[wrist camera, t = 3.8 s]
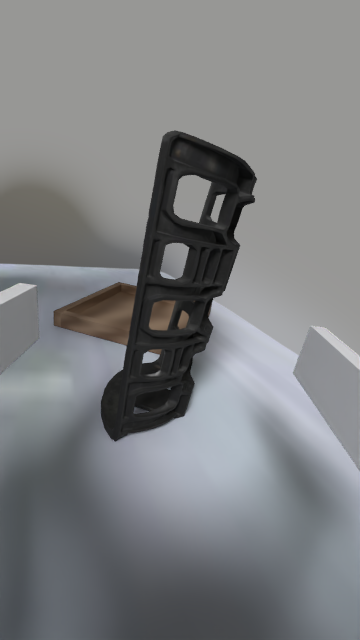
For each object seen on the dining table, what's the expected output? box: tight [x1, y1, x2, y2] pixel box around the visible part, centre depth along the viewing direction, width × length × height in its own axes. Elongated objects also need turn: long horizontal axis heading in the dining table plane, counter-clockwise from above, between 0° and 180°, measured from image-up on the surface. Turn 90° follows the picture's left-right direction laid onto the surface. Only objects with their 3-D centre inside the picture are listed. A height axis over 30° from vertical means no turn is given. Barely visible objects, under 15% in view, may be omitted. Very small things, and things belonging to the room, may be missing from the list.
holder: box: [101, 131, 257, 441], centre depth 21 cm, size 11×8×20 cm
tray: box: [54, 282, 212, 354], centre depth 41 cm, size 18×18×2 cm
